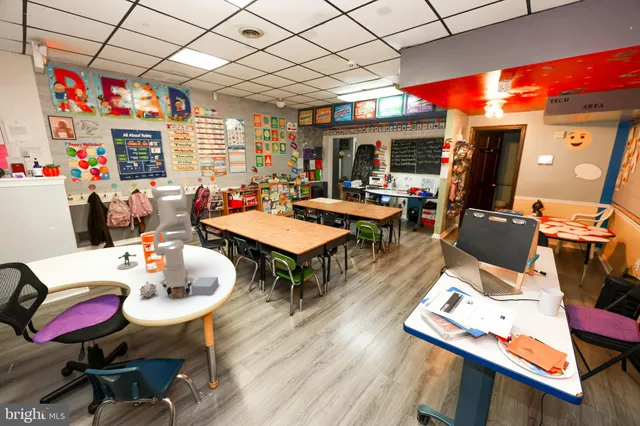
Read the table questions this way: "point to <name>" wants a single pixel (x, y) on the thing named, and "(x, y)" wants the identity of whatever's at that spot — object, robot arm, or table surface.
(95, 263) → the table surface
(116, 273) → the table surface
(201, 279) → the slate base
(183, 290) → the copper block
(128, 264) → the monster figurine
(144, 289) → the game die
